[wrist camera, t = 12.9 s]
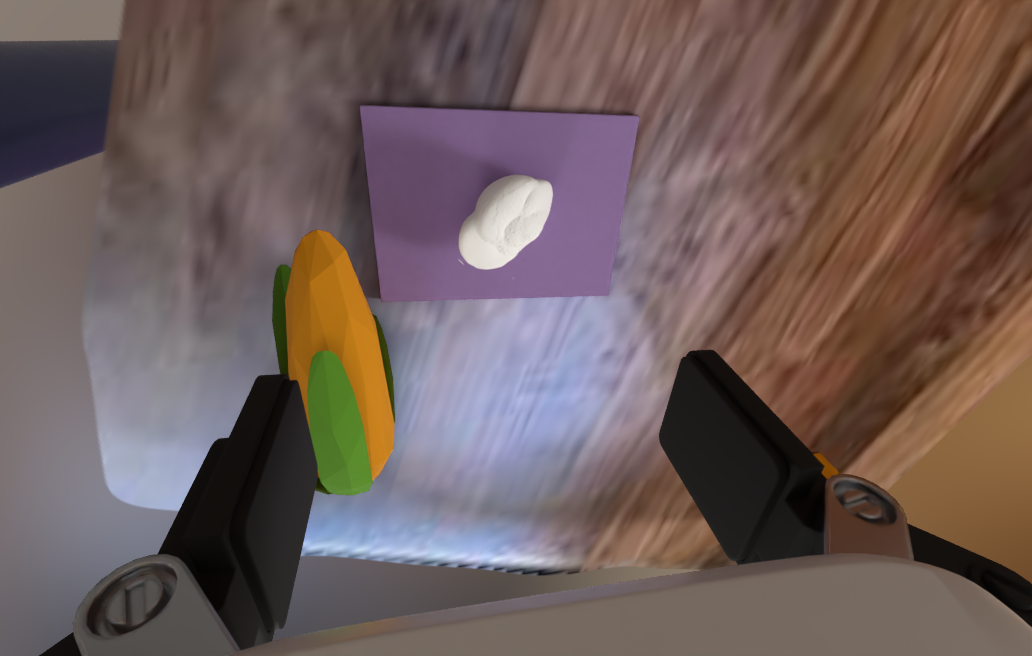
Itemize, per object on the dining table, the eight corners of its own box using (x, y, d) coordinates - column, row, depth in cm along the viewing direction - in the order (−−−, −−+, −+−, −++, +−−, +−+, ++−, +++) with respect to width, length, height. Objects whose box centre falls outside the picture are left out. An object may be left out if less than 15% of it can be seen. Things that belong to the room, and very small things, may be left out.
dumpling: (501, 140, 28) (531, 154, 25) (553, 196, 31) (584, 214, 28) (426, 232, 28) (445, 256, 25) (484, 277, 32) (507, 303, 29)
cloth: (381, 299, 32) (381, 302, 31) (360, 104, 26) (359, 105, 25) (606, 293, 34) (608, 295, 34) (637, 115, 28) (639, 116, 28)
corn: (288, 538, 31) (203, 260, 21) (305, 453, 38) (246, 208, 27) (402, 520, 33) (375, 255, 23) (399, 442, 39) (378, 207, 29)
